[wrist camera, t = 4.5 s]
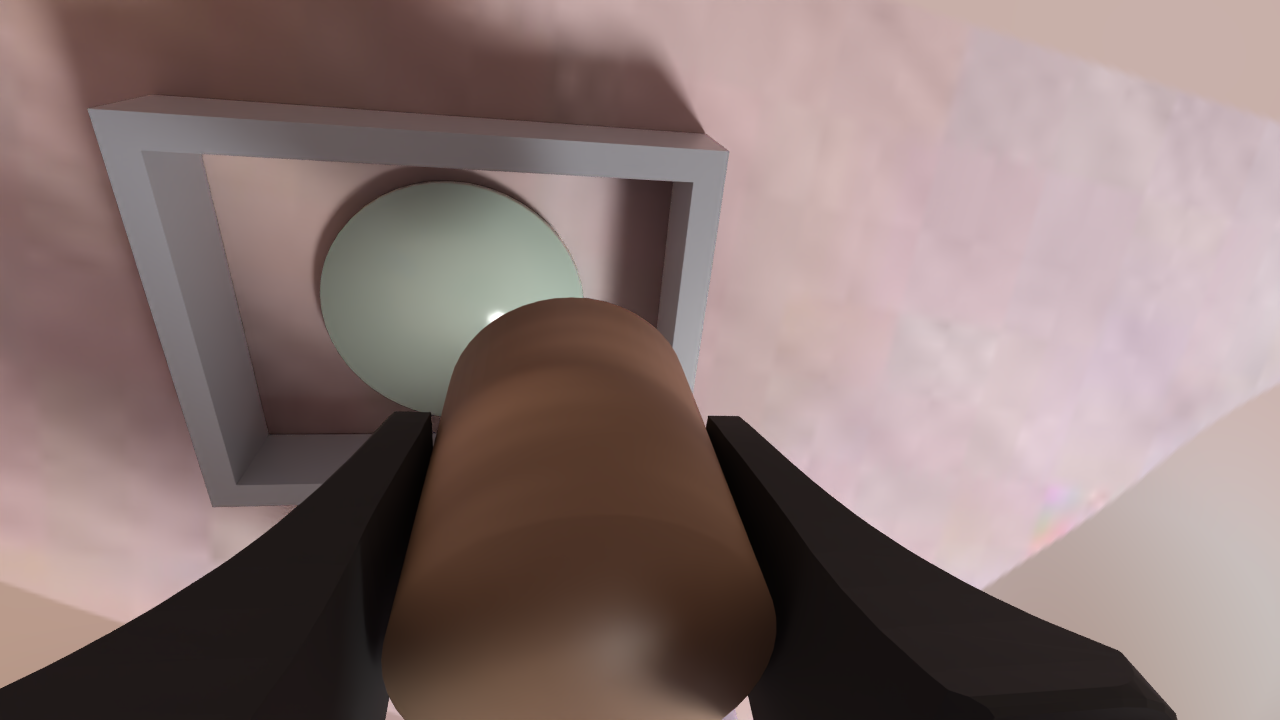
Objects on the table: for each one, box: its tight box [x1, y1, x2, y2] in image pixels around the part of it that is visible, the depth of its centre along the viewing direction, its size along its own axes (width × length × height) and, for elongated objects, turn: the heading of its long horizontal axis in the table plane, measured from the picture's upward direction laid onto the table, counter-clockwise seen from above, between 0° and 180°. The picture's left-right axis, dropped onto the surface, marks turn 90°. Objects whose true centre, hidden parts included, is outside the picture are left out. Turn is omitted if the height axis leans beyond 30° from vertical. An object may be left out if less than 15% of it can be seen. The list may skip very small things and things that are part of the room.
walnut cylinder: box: [381, 297, 776, 720], centre depth 11 cm, size 5×5×6 cm
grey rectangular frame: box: [87, 95, 729, 507], centre depth 18 cm, size 14×11×2 cm
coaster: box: [320, 181, 583, 416], centre depth 19 cm, size 8×8×1 cm
